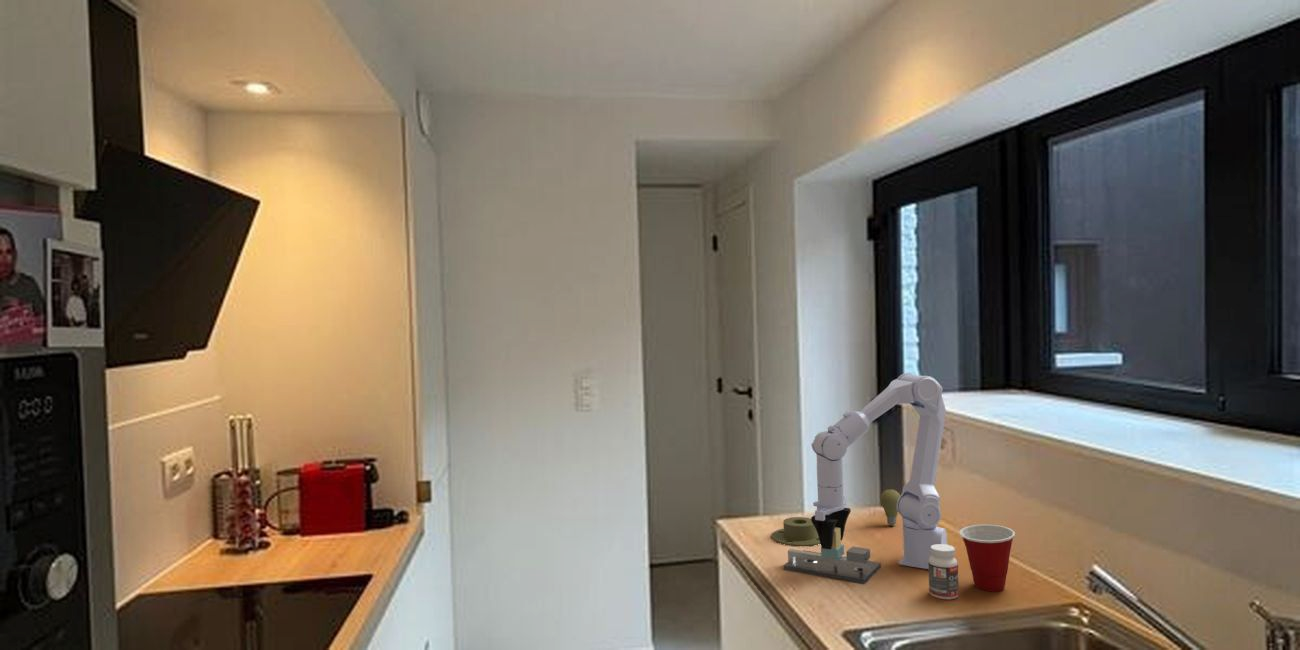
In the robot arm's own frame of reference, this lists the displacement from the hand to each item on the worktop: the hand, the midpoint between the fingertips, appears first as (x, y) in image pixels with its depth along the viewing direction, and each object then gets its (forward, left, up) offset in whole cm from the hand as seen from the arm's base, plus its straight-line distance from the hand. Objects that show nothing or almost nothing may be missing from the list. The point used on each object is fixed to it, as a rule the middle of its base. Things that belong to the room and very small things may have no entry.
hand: (832, 544), depth 166 cm
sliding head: (0, 0, -5) cm, 5 cm away
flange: (+16, -20, -7) cm, 27 cm away
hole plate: (+1, -2, -6) cm, 7 cm away
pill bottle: (-25, +2, -7) cm, 25 cm away
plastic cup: (-32, -7, -7) cm, 33 cm away
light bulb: (-2, -41, -7) cm, 42 cm away
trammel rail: (+1, 0, -5) cm, 5 cm away
